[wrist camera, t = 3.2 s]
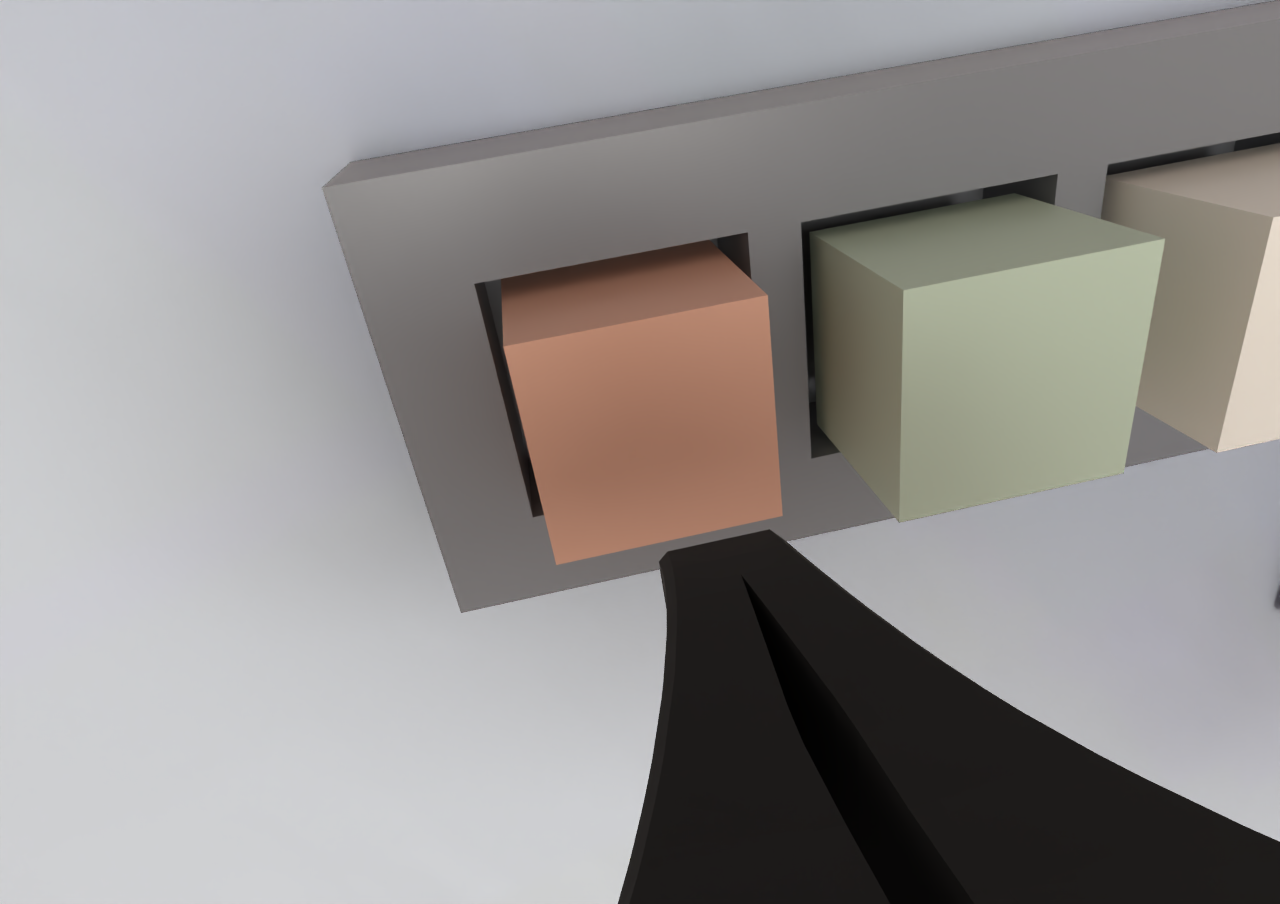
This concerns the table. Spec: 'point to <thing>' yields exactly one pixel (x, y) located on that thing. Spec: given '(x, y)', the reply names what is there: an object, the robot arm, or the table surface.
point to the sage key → (980, 349)
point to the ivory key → (1211, 292)
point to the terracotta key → (644, 397)
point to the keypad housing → (749, 241)
